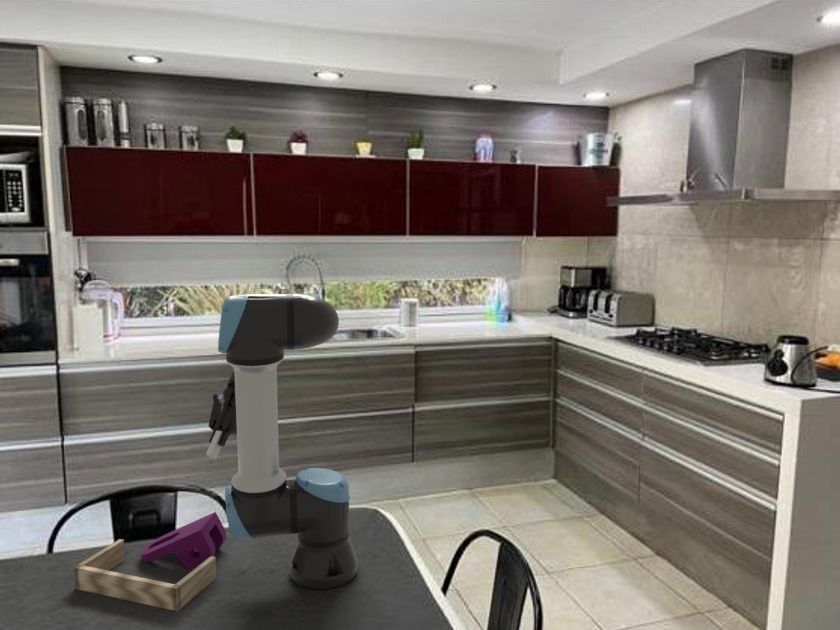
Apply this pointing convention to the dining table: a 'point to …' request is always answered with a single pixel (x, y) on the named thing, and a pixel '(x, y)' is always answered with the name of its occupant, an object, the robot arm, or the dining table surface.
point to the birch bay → (139, 580)
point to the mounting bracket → (189, 542)
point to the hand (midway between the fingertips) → (210, 456)
